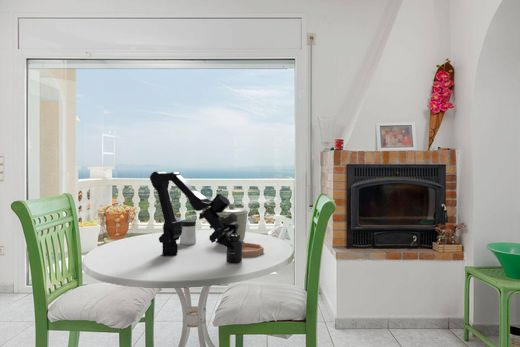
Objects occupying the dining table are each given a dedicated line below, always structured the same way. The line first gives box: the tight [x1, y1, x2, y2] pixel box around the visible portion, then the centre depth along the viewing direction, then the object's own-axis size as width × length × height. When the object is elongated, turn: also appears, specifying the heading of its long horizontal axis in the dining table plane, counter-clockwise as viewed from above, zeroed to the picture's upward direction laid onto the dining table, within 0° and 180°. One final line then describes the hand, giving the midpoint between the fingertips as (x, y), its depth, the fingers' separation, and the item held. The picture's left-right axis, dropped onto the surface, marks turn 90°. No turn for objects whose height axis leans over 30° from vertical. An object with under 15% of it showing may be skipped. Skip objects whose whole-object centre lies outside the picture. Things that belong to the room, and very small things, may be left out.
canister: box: [218, 202, 249, 242], centre depth 197 cm, size 18×18×21 cm
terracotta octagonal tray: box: [225, 242, 264, 258], centre depth 175 cm, size 17×17×2 cm
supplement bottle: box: [225, 233, 243, 265], centre depth 158 cm, size 7×7×12 cm
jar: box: [179, 219, 197, 246], centre depth 194 cm, size 9×8×12 cm
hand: (237, 246), depth 158 cm, fingers closed on supplement bottle, 7 cm apart
